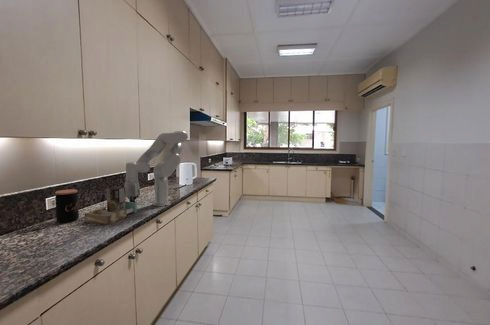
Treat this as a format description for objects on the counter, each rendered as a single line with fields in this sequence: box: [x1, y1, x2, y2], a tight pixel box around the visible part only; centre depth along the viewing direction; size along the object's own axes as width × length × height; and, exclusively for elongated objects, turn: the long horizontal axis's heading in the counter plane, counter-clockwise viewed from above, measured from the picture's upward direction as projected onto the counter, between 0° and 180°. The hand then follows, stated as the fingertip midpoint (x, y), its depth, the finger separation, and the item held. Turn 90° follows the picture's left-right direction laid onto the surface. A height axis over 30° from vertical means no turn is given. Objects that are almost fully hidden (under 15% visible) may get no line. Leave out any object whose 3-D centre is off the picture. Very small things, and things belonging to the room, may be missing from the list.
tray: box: [101, 201, 138, 215], centre depth 151 cm, size 14×17×7 cm
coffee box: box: [105, 186, 127, 213], centre depth 149 cm, size 9×6×16 cm
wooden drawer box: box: [84, 206, 128, 226], centre depth 142 cm, size 14×17×5 cm
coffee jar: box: [54, 188, 80, 224], centre depth 138 cm, size 11×11×18 cm
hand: (132, 205), depth 164 cm, fingers closed
